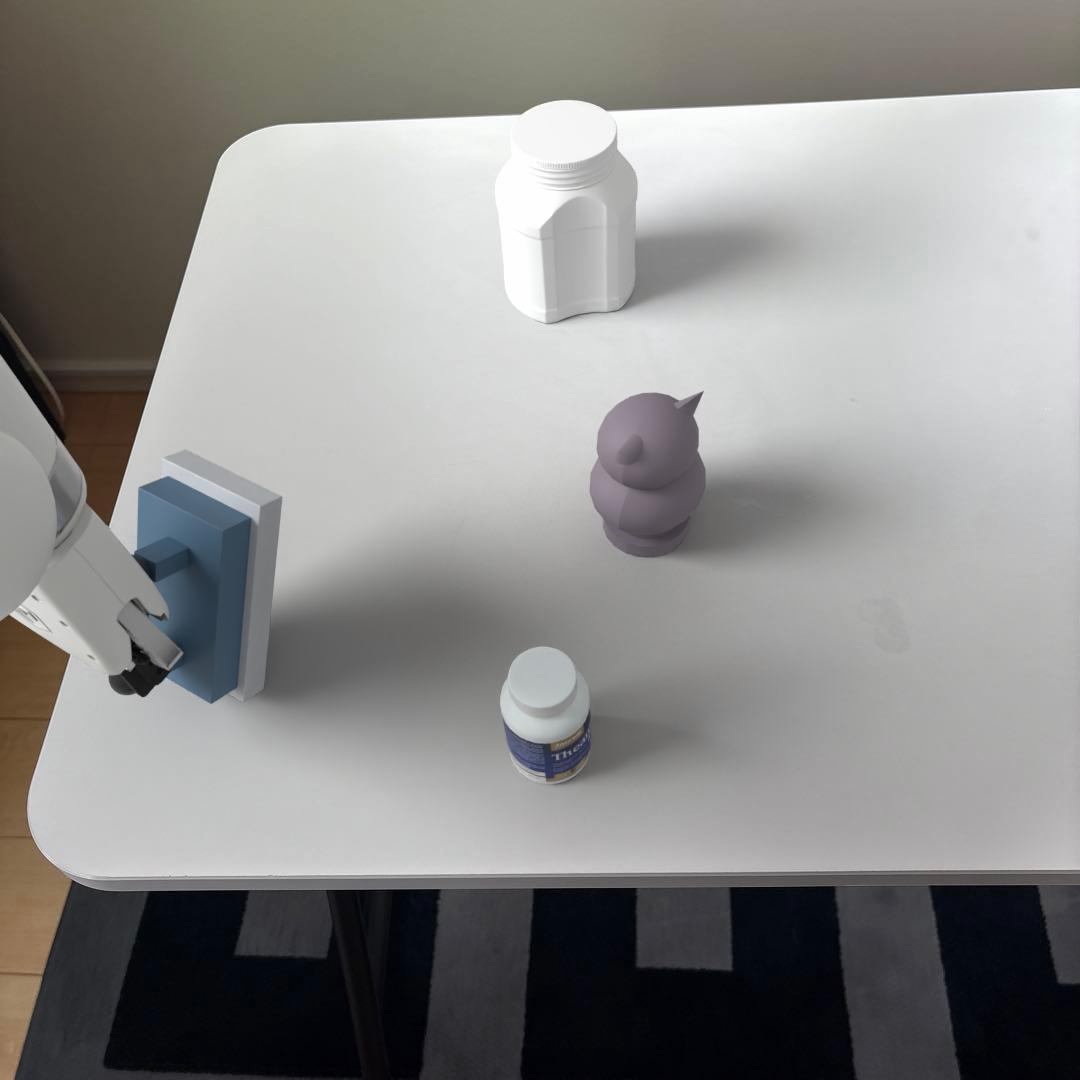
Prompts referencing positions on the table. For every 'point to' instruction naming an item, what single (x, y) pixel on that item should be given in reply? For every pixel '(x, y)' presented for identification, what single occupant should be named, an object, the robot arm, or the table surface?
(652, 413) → the mauve rounded figurine
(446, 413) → the table surface
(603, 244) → the jar
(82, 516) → the robot arm
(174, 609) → the scrub brush
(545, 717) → the pill bottle
